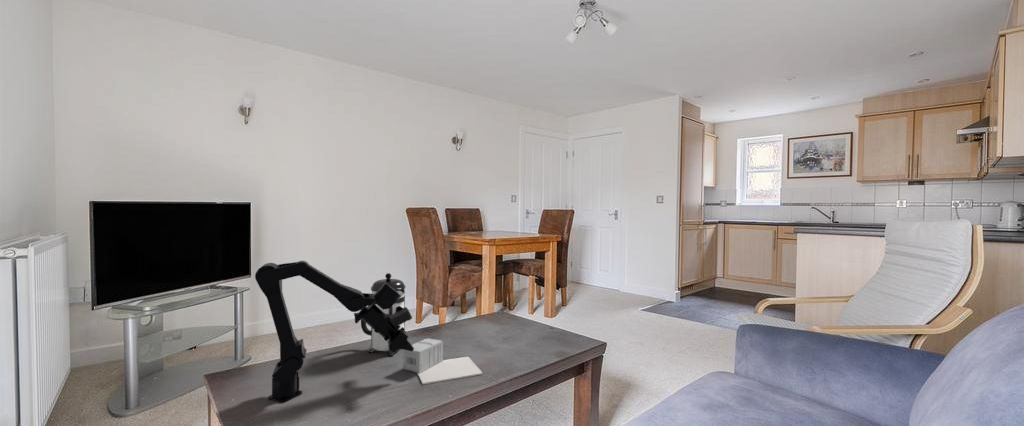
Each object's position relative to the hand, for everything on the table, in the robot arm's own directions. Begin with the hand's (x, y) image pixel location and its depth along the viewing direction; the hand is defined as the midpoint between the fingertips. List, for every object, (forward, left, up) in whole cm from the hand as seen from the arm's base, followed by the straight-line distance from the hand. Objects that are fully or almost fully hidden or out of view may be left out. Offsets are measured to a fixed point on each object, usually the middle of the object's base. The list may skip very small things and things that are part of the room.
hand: (412, 349), depth 133 cm
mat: (+8, -8, -9) cm, 14 cm away
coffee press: (+16, +24, -9) cm, 30 cm away
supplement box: (+1, +2, -4) cm, 5 cm away
